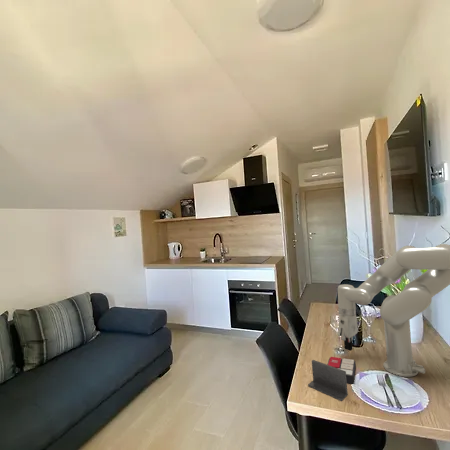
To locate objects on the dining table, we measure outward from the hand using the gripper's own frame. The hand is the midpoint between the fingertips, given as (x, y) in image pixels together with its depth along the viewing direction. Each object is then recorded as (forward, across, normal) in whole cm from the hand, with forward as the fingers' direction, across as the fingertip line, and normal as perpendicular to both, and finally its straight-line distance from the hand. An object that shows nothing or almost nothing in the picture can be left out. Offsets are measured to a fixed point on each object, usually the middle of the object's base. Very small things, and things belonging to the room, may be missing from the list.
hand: (348, 349), depth 131 cm
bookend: (+5, -29, -5) cm, 30 cm away
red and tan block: (+5, -14, -3) cm, 15 cm away
